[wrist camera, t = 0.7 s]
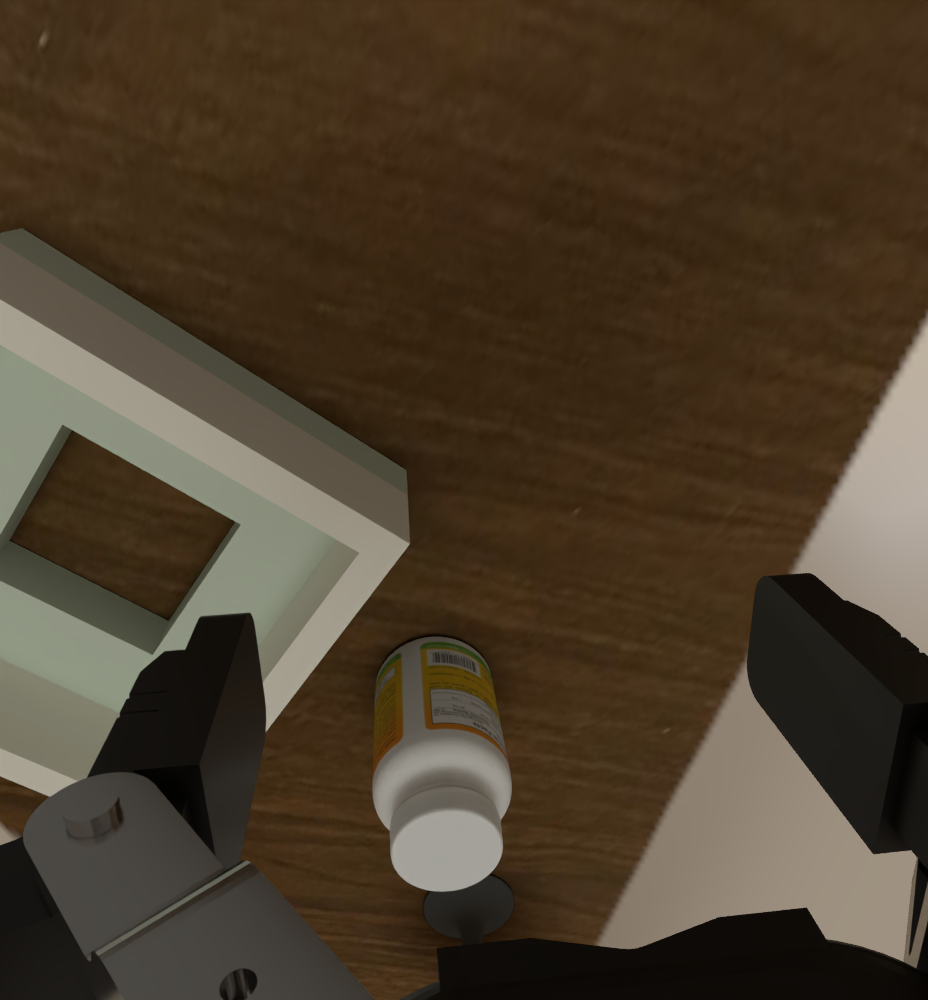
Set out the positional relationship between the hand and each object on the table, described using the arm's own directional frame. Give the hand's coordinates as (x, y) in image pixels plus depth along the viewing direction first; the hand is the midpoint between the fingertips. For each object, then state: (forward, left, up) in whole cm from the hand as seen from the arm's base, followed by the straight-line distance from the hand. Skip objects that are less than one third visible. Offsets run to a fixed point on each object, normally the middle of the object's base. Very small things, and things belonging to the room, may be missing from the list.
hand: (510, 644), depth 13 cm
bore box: (+13, -6, -20) cm, 24 cm away
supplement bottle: (+13, +9, -20) cm, 25 cm away
